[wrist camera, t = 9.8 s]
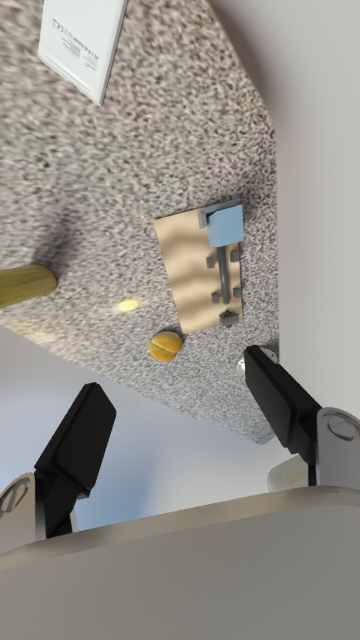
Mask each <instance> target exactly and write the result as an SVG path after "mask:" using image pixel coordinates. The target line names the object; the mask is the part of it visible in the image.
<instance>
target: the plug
mask: <svg viewBox="0 0 360 640" xmlns="http://www.w3.org/2000/svg"><path fill="white" fill-rule="evenodd" d="M206 220H207V231H208V238H209V246H210V247H217V256H218V264H219V273H220V281H221V289H222V298H223V303H224V304H225V305H228V304H229V303H230V296H229V286H228V276H227V266H226V256H225V245H229V244H232V243H236V242H240V241H244V233H243V212H242V205H238V206H235V207H231V208H227V209H224V210H220V211H216V212H215V213H214V214H213V215H211V216H210V217H209V218H207V219H206Z"/></svg>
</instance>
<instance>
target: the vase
mask: <svg viewBox="0 0 360 640" xmlns="http://www.w3.org/2000/svg"><path fill="white" fill-rule="evenodd" d="M56 286H57V281H56V278H55V276H54V275H53V273H52V272H51V271H50V270H49V269H47V268H46V267H44V266H41V265H34V264H33V265H30V266H24V267H18V268H12V269H6V270H0V308H3V307H6V306H9V305H12V304H15V303H18V302H22V301H25V300H27V299H31V298H34V297H37V296H41V295H44V294H49V293H51V292H53V291H54V290H55V289H56Z"/></svg>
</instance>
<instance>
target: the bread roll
mask: <svg viewBox="0 0 360 640" xmlns="http://www.w3.org/2000/svg"><path fill="white" fill-rule="evenodd" d="M181 349H182V341H181V339H180V337H179V336H178V335H177V334H176V333H174V332H171V331H164V332H160V333H158V334H156V335H155V336H154V337H153V338H152V340H151V342H150V344H149V351H150V353H151V355H152V356H153V357H154V358H156V359H157V360H159V361H162V362H168V361H171V360H173V359H174V358H175V356H176V354H177V352H178V351H180V350H181Z"/></svg>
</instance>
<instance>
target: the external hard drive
mask: <svg viewBox="0 0 360 640" xmlns="http://www.w3.org/2000/svg"><path fill="white" fill-rule="evenodd" d="M127 1H128V0H44V8H43V16H42V25H41V34H40V43H39V50H38V56H39V57H40V59H41V60H42V62H44V63H45V64H46V65H48V66H49V67H50V68H52V69H53V70H54V71H55V72H57V73H58V74H59V75H61V76H62V77H63V78H64V79H66V80H67V81H70V82H71V83H72V84H73V85H75V86H76V87H77V88H78V89H79V90H80V91H81V92H82V93H84V94H85V95H86V96H87V97H89V98H90V99H91V100H92V101H94V102H95V103H96V104H98V105H99V106H100V107H102V103H103V99H104V95H105V91H106V87H107V83H108V79H109V75H110V71H111V67H112V63H113V59H114V54H115V50H116V46H117V42H118V38H119V34H120V30H121V26H122V22H123V17H124V13H125V9H126V5H127Z"/></svg>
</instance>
